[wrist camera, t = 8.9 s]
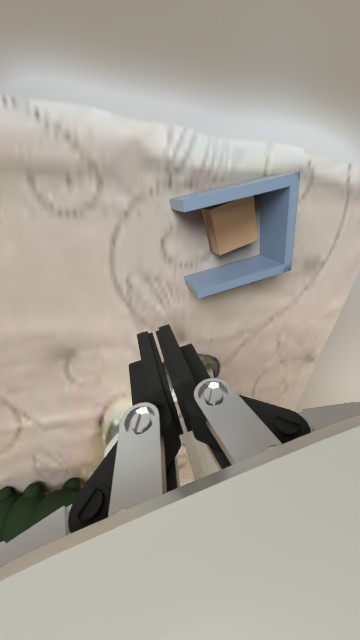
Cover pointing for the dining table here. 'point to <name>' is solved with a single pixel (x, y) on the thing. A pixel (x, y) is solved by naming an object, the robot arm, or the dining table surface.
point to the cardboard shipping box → (230, 224)
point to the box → (274, 231)
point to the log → (209, 364)
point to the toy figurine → (31, 507)
